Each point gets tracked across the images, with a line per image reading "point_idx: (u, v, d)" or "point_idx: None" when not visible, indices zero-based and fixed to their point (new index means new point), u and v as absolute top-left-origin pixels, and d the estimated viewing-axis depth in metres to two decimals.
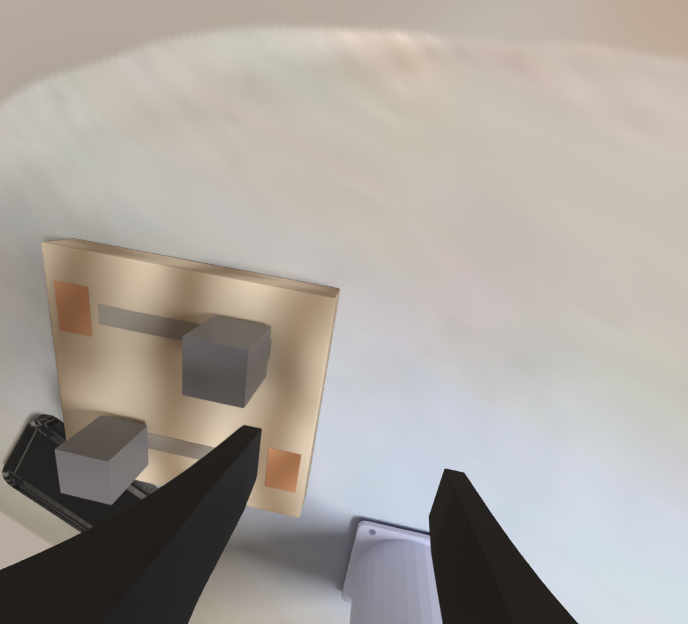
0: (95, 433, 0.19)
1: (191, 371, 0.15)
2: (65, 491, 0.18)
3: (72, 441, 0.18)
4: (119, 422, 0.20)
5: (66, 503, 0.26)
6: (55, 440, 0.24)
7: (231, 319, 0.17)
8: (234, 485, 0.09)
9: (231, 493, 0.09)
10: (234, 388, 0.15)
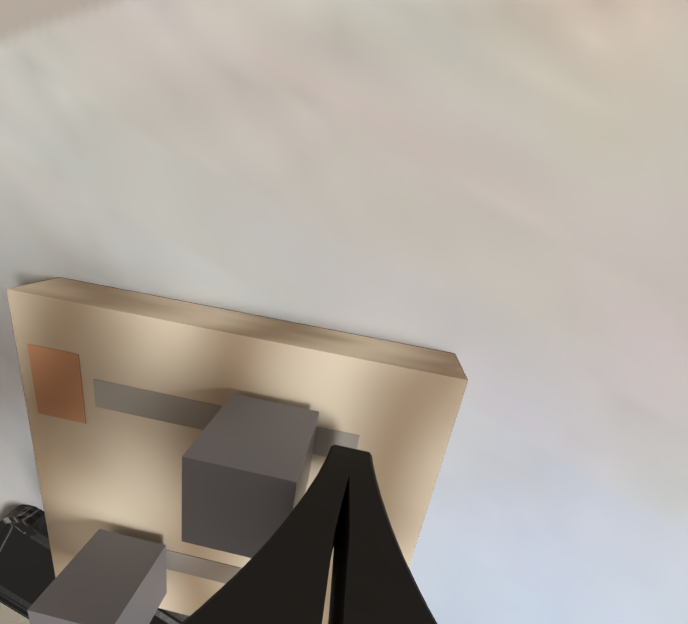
0: (90, 568, 0.13)
1: (197, 509, 0.09)
2: None
3: (55, 589, 0.12)
4: (125, 541, 0.14)
5: None
6: (37, 540, 0.18)
7: (257, 401, 0.11)
8: (341, 509, 0.09)
9: (339, 517, 0.09)
10: (269, 537, 0.09)
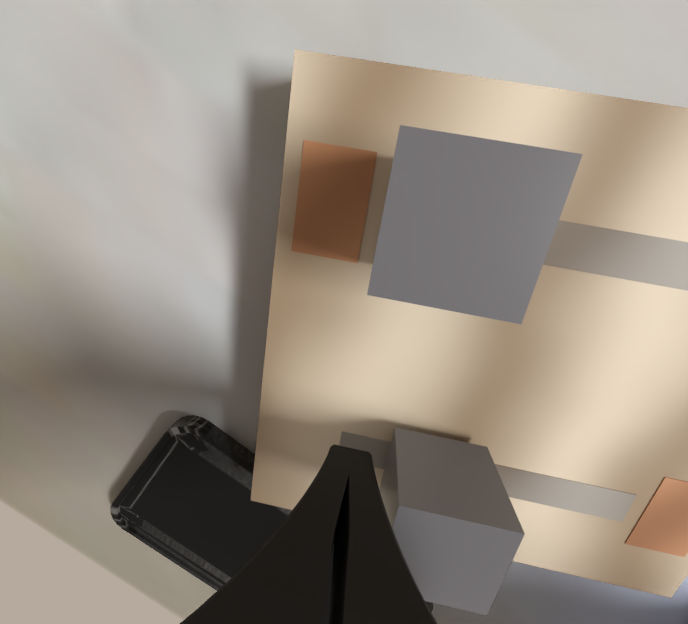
0: (427, 465, 0.09)
1: (404, 230, 0.06)
2: None
3: (410, 485, 0.09)
4: (438, 440, 0.11)
5: (209, 554, 0.16)
6: (207, 458, 0.15)
7: None
8: None
9: (339, 518, 0.09)
10: (509, 271, 0.06)
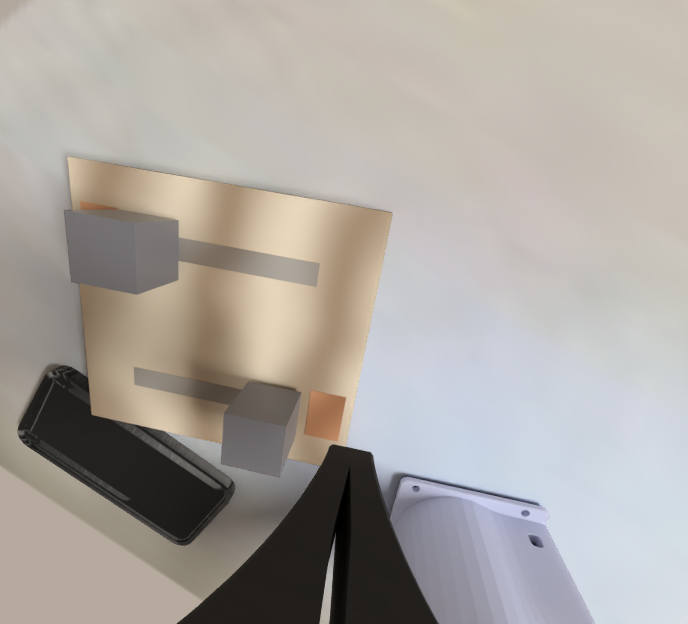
0: (254, 398, 0.17)
1: (78, 253, 0.14)
2: (227, 462, 0.16)
3: (236, 406, 0.16)
4: (271, 388, 0.18)
5: (85, 463, 0.24)
6: (74, 393, 0.22)
7: (136, 213, 0.16)
8: (339, 509, 0.09)
9: (337, 517, 0.09)
10: (124, 271, 0.14)
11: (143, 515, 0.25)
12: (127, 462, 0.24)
